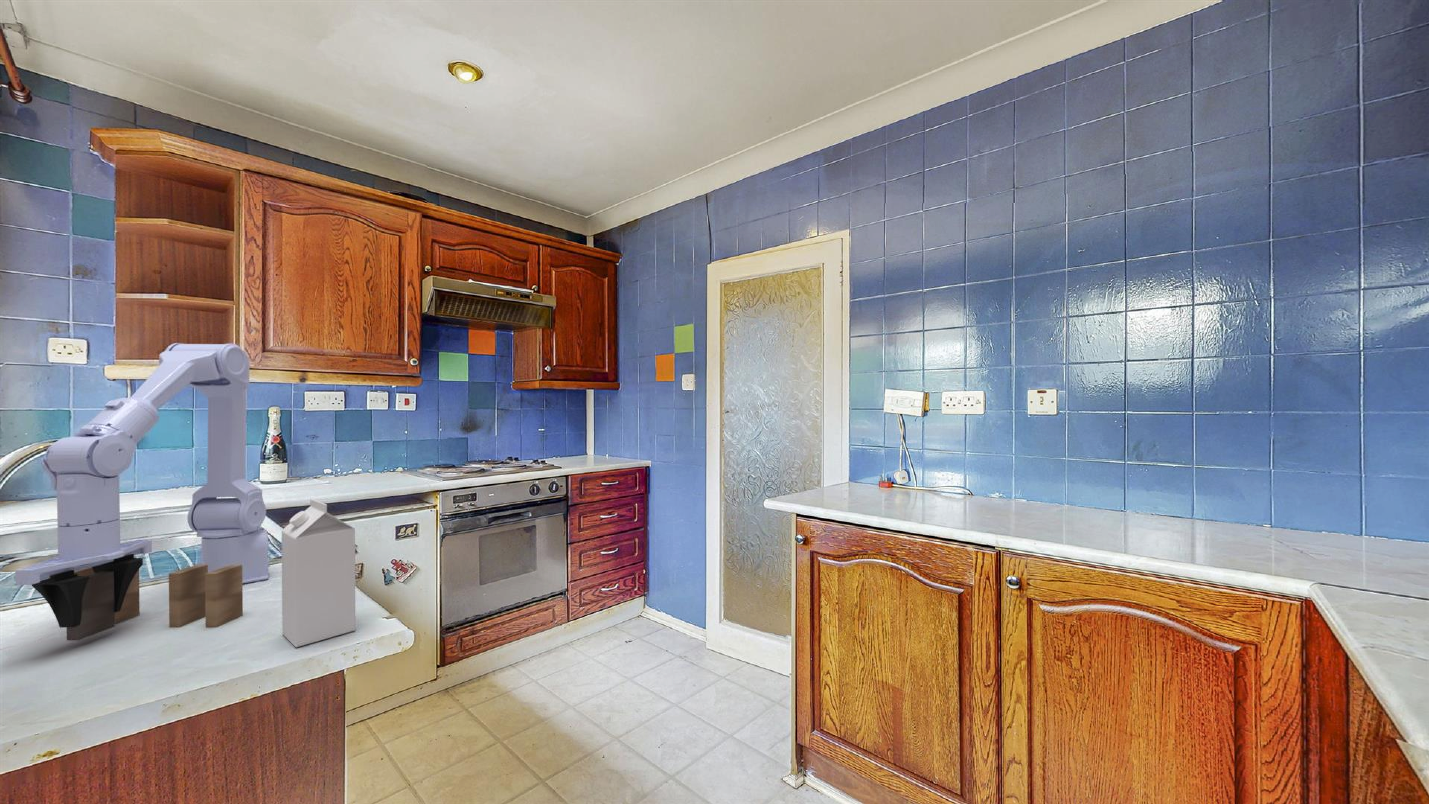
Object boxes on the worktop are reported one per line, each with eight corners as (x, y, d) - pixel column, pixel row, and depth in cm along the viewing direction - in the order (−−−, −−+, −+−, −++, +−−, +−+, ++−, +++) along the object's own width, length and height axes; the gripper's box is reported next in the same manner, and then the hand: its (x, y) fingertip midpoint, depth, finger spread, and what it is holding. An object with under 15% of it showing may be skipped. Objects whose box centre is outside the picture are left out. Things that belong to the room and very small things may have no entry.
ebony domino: (103, 626, 78) (103, 571, 78) (114, 626, 78) (113, 571, 78) (66, 640, 74) (65, 581, 73) (78, 640, 74) (77, 581, 73)
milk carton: (339, 619, 83) (338, 495, 83) (356, 631, 79) (355, 500, 79) (281, 634, 78) (280, 502, 78) (295, 649, 73) (294, 508, 73)
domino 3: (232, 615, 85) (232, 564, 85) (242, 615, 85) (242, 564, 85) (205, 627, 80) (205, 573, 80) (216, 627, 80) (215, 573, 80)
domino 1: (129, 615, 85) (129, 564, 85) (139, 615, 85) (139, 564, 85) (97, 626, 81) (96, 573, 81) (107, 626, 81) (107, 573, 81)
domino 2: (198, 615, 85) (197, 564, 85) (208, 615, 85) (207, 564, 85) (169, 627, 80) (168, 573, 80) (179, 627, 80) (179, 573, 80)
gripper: (52, 535, 68) (54, 642, 68) (170, 510, 83) (172, 599, 83) (-2, 535, 68) (0, 642, 69) (125, 510, 83) (127, 599, 83)
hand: (91, 618), depth 76 cm, fingers closed on ebony domino, 4 cm apart
